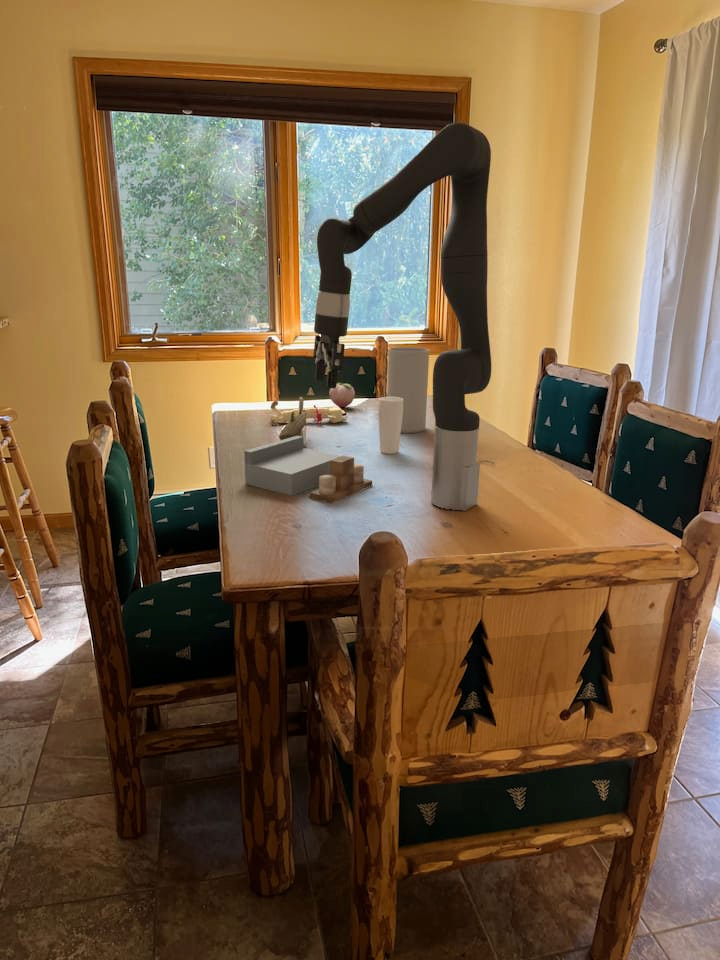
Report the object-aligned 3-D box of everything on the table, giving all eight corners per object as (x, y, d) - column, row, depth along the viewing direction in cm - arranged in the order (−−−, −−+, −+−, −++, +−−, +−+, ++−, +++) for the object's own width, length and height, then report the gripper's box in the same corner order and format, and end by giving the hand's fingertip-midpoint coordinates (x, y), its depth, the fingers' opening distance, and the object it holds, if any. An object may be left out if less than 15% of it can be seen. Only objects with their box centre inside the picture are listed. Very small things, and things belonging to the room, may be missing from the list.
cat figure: (272, 431, 217) (350, 423, 221) (270, 404, 215) (348, 396, 218) (271, 424, 227) (345, 416, 230) (268, 398, 224) (343, 391, 228)
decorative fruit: (359, 407, 248) (360, 380, 245) (347, 411, 242) (347, 383, 239) (337, 404, 253) (338, 377, 250) (325, 408, 246) (325, 380, 243)
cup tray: (351, 481, 165) (351, 449, 162) (372, 486, 161) (373, 453, 159) (309, 499, 152) (309, 464, 150) (331, 504, 149) (331, 469, 146)
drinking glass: (399, 456, 187) (401, 401, 182) (375, 454, 188) (376, 400, 183) (403, 449, 193) (405, 397, 188) (379, 448, 194) (380, 395, 190)
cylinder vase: (432, 432, 214) (436, 351, 207) (395, 434, 210) (398, 352, 202) (414, 423, 225) (418, 346, 218) (379, 426, 221) (382, 347, 213)
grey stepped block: (341, 476, 168) (342, 444, 165) (291, 495, 153) (291, 461, 150) (297, 466, 175) (297, 435, 173) (245, 483, 160) (244, 450, 158)
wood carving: (317, 432, 210) (317, 396, 207) (302, 464, 177) (302, 422, 174) (288, 432, 211) (287, 396, 207) (268, 463, 177) (267, 421, 174)
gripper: (359, 318, 150) (350, 391, 155) (337, 310, 163) (330, 378, 168) (326, 315, 147) (319, 390, 152) (307, 308, 160) (301, 377, 165)
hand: (325, 384), depth 160 cm, fingers open, 8 cm apart
